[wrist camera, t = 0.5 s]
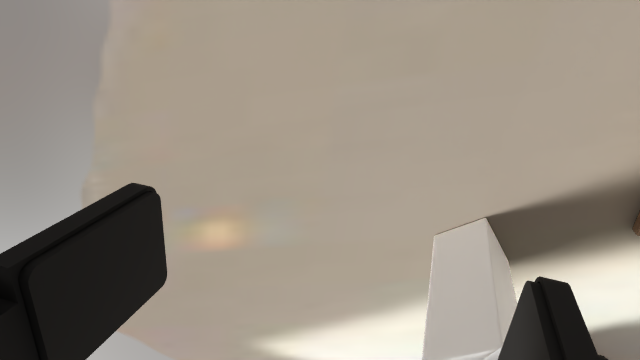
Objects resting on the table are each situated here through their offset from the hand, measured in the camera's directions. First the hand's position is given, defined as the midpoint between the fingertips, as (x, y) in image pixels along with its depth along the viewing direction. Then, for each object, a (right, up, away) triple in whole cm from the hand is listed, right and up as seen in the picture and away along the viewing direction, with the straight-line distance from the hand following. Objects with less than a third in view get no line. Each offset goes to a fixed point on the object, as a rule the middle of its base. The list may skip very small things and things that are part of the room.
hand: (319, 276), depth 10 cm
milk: (+17, -5, +36) cm, 40 cm away
